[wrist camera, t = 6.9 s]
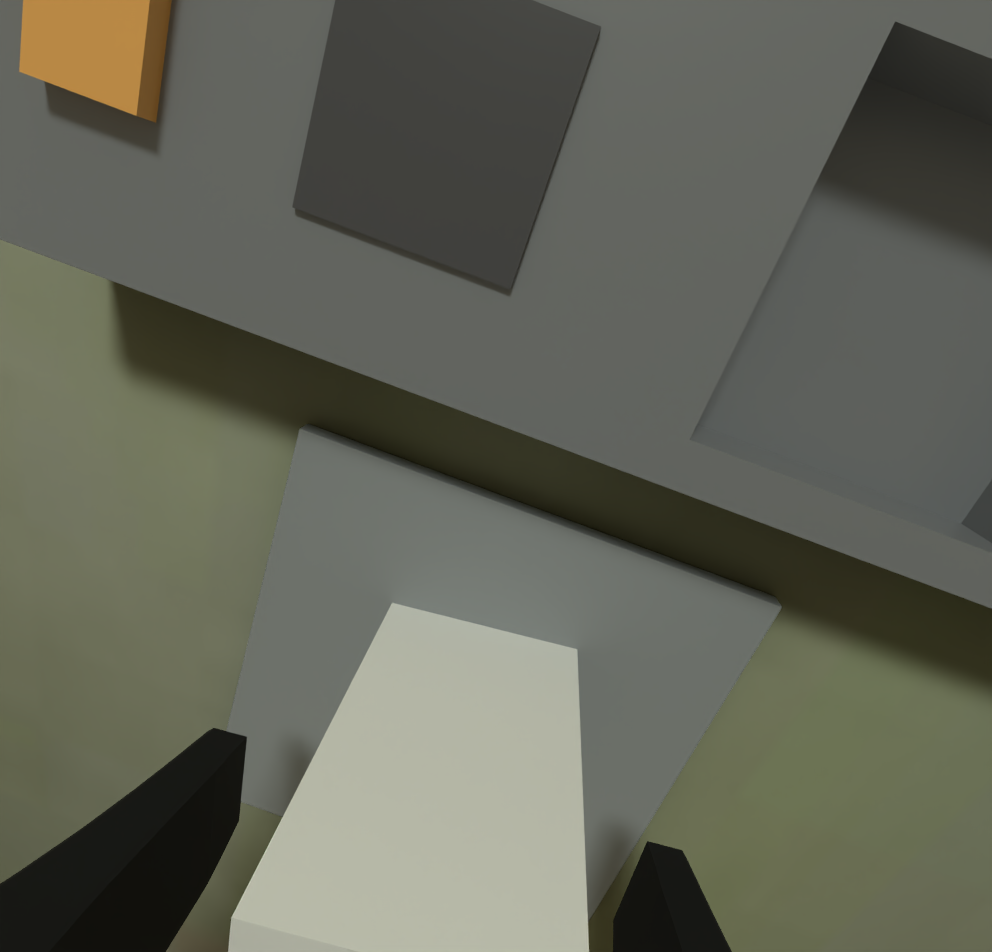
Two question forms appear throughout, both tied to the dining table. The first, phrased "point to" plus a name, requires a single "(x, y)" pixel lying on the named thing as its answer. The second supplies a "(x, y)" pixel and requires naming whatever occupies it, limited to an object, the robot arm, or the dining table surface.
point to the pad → (493, 603)
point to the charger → (434, 805)
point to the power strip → (568, 225)
